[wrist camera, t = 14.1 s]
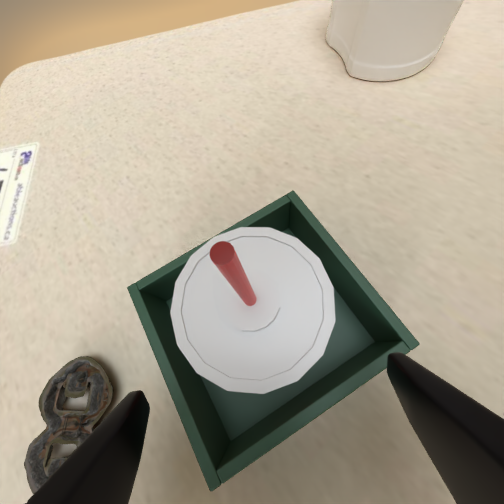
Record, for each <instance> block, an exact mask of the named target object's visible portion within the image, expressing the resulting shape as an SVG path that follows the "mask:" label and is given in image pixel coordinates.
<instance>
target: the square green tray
mask: <svg viewBox="0 0 504 504" xmlns="http://www.w3.org/2000/svg"><path fill="white" fill-rule="evenodd" d="M240 227H270V228H273V229H275V230H278V231H280V232H283V233H285V234H288V235H291V236H293V237H296V238H298V239H299V240H300V241H301V242H302V243H303V244H304V245H305V246H306V247H308V248H309V249H310V250H311V251H312V252H313V253H314V254H315V255H316V256H317V257H318V258H320V260H321V262H322V264H323V267H324V269H325V271H326V273H327V275H328V277H329V279H330V281H331V283H332V285H333V287H334V303H335V324H334V327H333V330H332V332H331V335H330V338H329V341H328V343H327V346H326V349H325V351H324V354H323V356H322V357H321V358H320V359H319V360H318V361H317V362H316V363H315V364H314V365H313V366H312V367H311V368H310V369H309V370H308V371H307V372H306V373H305V374H304V375H303V376H302V377H301V378H300V379H299V380H298V381H296V382H294V383H291V384H288V385H286V386H283V387H281V388H278V389H275V390H273V391H270V392H267V393H265V394H258V393H246V392H234V391H227V390H225V389H223V388H221V387H220V386H218V385H216V384H215V383H213V382H211V381H209V380H208V379H206V378H204V377H203V376H201V375H199V374H197V373H196V371H195V370H194V368H193V367H192V366H191V364H190V363H189V361H188V360H187V359H186V357H185V356H184V354H183V353H182V351H181V350H180V349H179V347H178V346H177V342H176V338H175V333H174V328H173V324H172V319H171V314H170V312H171V306H172V300H173V294H174V288H175V282H176V280H177V279H178V277H179V275H180V273H181V272H182V270H183V268H184V267H185V265H186V263H187V261H188V260H189V258H190V256H191V255H192V254H194V253H195V252H196V251H197V250H198V249H200V248H201V247H202V246H203V245H204V244H206V243H207V242H208V241H209V240H210V239H209V240H207V241H206V242H204V243H202V244H201V245H199V246H197V247H195V248H194V249H192V250H190V251H189V252H187V253H185V254H183V255H182V256H180V257H178V258H177V259H175V260H173V261H172V262H170V263H168V264H166V265H165V266H163V267H161V268H160V269H158V270H156V271H154V272H153V273H151V274H149V275H148V276H146V277H144V278H142V279H141V280H139V281H137V282H136V283H134V284H132V285H130V286H129V287H127V289H128V291H129V293H130V296H131V298H132V301H133V303H134V306H135V308H136V311H137V313H138V315H139V318H140V320H141V323H142V325H143V328H144V330H145V333H146V335H147V338H148V340H149V342H150V345H151V347H152V350H153V352H154V355H155V357H156V360H157V362H158V365H159V367H160V369H161V372H162V374H163V377H164V379H165V382H166V384H167V387H168V389H169V392H170V394H171V396H172V399H173V401H174V404H175V406H176V409H177V411H178V414H179V416H180V418H181V421H182V423H183V426H184V428H185V431H186V433H187V436H188V438H189V441H190V443H191V445H192V448H193V450H194V453H195V455H196V458H197V460H198V463H199V465H200V468H201V470H202V472H203V475H204V477H205V480H206V482H207V485H208V487H209V490H210V491H213V490H215V489H216V488H217V487H219V486H220V485H221V484H222V483H224V482H226V481H227V480H229V479H230V478H231V477H233V476H234V475H236V474H237V473H239V472H240V471H241V470H243V469H244V468H246V467H247V466H248V465H250V464H251V463H253V462H254V461H256V460H257V459H258V458H260V457H261V456H263V455H264V454H265V453H267V452H268V451H270V450H271V449H272V448H274V447H275V446H277V445H278V444H280V443H281V442H282V441H284V440H285V439H287V438H288V437H289V436H291V435H292V434H294V433H295V432H297V431H298V430H299V429H301V428H302V427H304V426H305V425H306V424H308V423H309V422H311V421H312V420H314V419H315V418H316V417H318V416H319V415H321V414H322V413H323V412H325V411H326V410H328V409H329V408H331V407H332V406H333V405H335V404H336V403H338V402H339V401H340V400H342V399H343V398H345V397H346V396H348V395H349V394H350V393H352V392H353V391H355V390H356V389H357V388H359V387H360V386H362V385H363V384H365V383H366V382H367V381H369V380H370V379H372V378H373V377H374V376H376V375H377V374H379V373H380V372H381V371H383V370H384V369H386V368H387V360H388V354H390V353H395V352H401V353H403V354H405V355H406V354H407V353H408V352H410V350H413V349H414V348H416V347H417V346H418V345H419V342H418V341H417V340H416V339H415V337H414V336H413V335H412V334H411V333H410V331H409V330H408V329H407V328H406V326H405V325H404V324H403V323H402V322H401V320H400V319H399V318H398V317H397V316H396V314H395V313H394V312H393V311H392V309H391V308H390V307H389V306H388V305H387V303H386V302H385V301H384V300H383V299H382V297H381V296H380V295H379V294H378V292H377V291H376V290H375V289H374V288H373V286H372V285H371V284H370V283H369V282H368V280H367V279H366V278H365V277H364V276H363V274H362V273H361V272H360V271H359V269H358V268H357V267H356V266H355V265H354V263H353V262H352V261H351V260H350V259H349V257H348V256H347V255H346V254H345V252H344V251H343V250H342V249H341V248H340V246H339V245H338V244H337V243H336V242H335V240H334V239H333V238H332V237H331V235H330V234H329V233H328V232H327V231H326V229H325V228H324V227H323V226H322V225H321V223H320V222H319V221H318V220H317V218H316V217H315V216H314V215H313V214H312V212H311V211H310V210H309V209H308V208H307V206H306V205H305V204H304V203H303V201H302V200H301V199H300V198H299V197H298V195H297V194H296V193H295V192H294V191H291V192H290V193H288V194H287V195H285V196H283V197H281V198H279V199H278V200H276V201H274V202H273V203H271V204H269V205H267V206H266V207H264V208H262V209H261V210H259V211H257V212H255V213H254V214H252V215H250V216H249V217H247V218H245V219H243V220H242V221H240V222H238V223H237V224H235V225H233V226H231V227H230V228H228V229H226V230H225V231H223V232H221V233H219V234H218V235H220V234H223V233H226V232H229V231H231V230H234V229H237V228H240ZM218 235H216V236H218ZM214 237H215V236H214ZM211 239H212V238H211Z"/></svg>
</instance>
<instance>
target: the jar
mask: <svg viewBox="0 0 504 504" xmlns="http://www.w3.org/2000/svg"><path fill="white" fill-rule="evenodd" d="M463 1H464V0H332V6H331V13H330V19H329V24H328V27H327V33H326V41H327V43H328V44H329V46H330V47H332V48H333V49H335V50H336V51H337V52H338V53H339V54H340V56H341V57H342V59H343V61H344V63H345V65H346V70H347V72H348V73H349V74H350V76H352V77H355V78H359V79H363V80H369V81H392V80H398V79H403V78H406V77H409V76H412V75H414V74H416V73H418V72H420V71H421V70H423V69H424V68H425V67H427V66H428V65H429V64H430V63H431V62H432V60H433V59H434V58H435V56H436V54H437V52H438V50H439V49H440V47H441V45H442V43H443V40H444V37H445V35H446V33H447V31H448V29H449V28H450V26H451V24H452V22H453V20H454V18H455V16H456V14H457V13H458V11H459V9H460V7H461V5H462V3H463Z"/></svg>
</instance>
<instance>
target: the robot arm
mask: <svg viewBox="0 0 504 504" xmlns="http://www.w3.org/2000/svg"><path fill="white" fill-rule="evenodd" d="M387 373H388V377H389V379H390V381H391V383H392V385H393V387H394V390H395V392H396V394H397V396H398V398H399V400H400V403H401V405H402V407H403V409H404V411H405V413H406V416H407V418H408V420H409V422H410V424H411V425H412V427H413V429H414V431H415V433H416V434H417V436H418V438H419V439H420V441H421V443H422V445H423V446H424V448H425V450H426V451H427V453H428V455H429V457H430V458H431V460H432V462H433V464H434V465H435V467H436V469H437V470H438V472H439V474H440V476H441V477H442V479H443V481H444V482H445V484H446V486H447V488H448V489H449V491H450V493H451V494H452V496H453V498H454V500H455V501H456V503H457V504H504V419H503V418H501V417H500V416H498V415H497V414H495V413H493V412H492V411H490V410H489V409H487V408H486V407H484V406H483V405H481V404H480V403H478V402H477V401H475V400H474V399H472V398H471V397H469V396H467V395H466V394H464V393H463V392H461V391H460V390H458V389H457V388H455V387H454V386H452V385H451V384H449V383H448V382H446V381H444V380H443V379H441V378H440V377H438V376H437V375H435V374H434V373H432V372H431V371H429V370H428V369H426V368H425V367H423V366H421V365H420V364H418V363H417V362H415V361H414V360H412V359H411V358H409V357H408V356H406V355H405V354H403V353H401V352H395V353H390V354H388V360H387ZM149 412H150V407H149V403H148V401H147V399H146V397H145V395H144V393H143V392H142V391H140V390H139V391H133V392H130V393H129V394H127V396H126V397H125V398H124V399H123V400H122V401H121V402H120V403H119V404H118V405H117V406H116V407H115V408H114V409H113V410H112V412H111V413H110V414H109V415H108V416H107V417H106V418H105V419H104V420H103V421H102V422H101V423H100V424H99V425H98V426H97V427H96V429H95V430H94V431H93V432H92V433H91V434H90V435H89V436H88V437H87V438H86V439H85V440H84V441H83V442H82V443H81V445H80V446H79V447H78V448H77V449H76V450H75V451H74V452H73V453H72V454H71V455H70V456H69V457H68V458H67V459H66V461H65V462H64V463H63V464H62V465H61V466H60V467H59V468H58V469H57V470H56V471H55V472H54V473H53V474H52V475H51V476H50V478H49V479H48V480H47V481H46V482H45V483H44V484H43V485H42V486H41V487H40V488H39V489H38V490H37V491H36V492H35V494H34V495H33V496H32V497H31V498H30V499H29V500H28V502H27V503H25V504H128V503H129V499H130V495H131V492H132V488H133V485H134V481H135V478H136V474H137V470H138V467H139V463H140V459H141V454H142V449H143V444H144V439H145V433H146V428H147V423H148V417H149Z"/></svg>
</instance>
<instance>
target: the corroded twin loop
mask: <svg viewBox="0 0 504 504" xmlns="http://www.w3.org/2000/svg"><path fill="white" fill-rule="evenodd" d="M65 382H67V384H66V388H64V387H63V385H64V383H65ZM90 383H91V387H90V392H89V397H88V402H87V407H86V410H85V411H71V410H66V411H63V408H62V406H63V403H64V402H65V398H66V397H71V398H78V397H81V396H84V394H85V391H86V389H87V388H89V386H90ZM112 395H113V387H112V385H111V384H110V380H109V378H108V377H107V374H106V373H105V371H104V369H103V368H102V366H101V365H100V364H99V363H97V362H96V361H95V360H94V359H92V358H91V357H78V358H76V359H74V360H72V361H70V362H69V363H67V364H66V365H65V366H64V367H63V368H61V369H60V370H59V371H58V372H57V373H56V374H55V375H54V376H53V377H52V378H51V379H50V380H49V381H48V383H47V385H46V386H45V388H44V390H43V392H42V394H41V396H40V398H39V408H40V412H41V416H42V417H43V420H44V421H45V422H46V424H47V427H46V429H45V430H44V431H43V432H42V433H41V434H40V435H39V436H38V437H37V438H35V439H34V440H33V442H32V443H31V444H30V445H29V448H28V451H27V455H26V459H25V462H24V466H25V469H26V473H27V480H28V483H29V486H30V489H31V490H32V493H33V494H35V492H36V491H37V490H38V489H39V488H40V487H41V486H42V485H43V484H44V483H45V482H46V481H47V480H48V479H49V478H50V476H51V475H52V474H53V473H54V472H55V471H56V470H57V469H58V468H59V467H60V466H61V465H62V464H63V463H64V462H65V461H66V459H67V458H68V457H64V458H53V459H50V456H51V452H52V449H53V448H52V447H53V446H52V444H53V443H60V444H76V445H77V448H78V447H79V446H80V445H81V443H82V442H83V441H84V440H85V439H86V438H87V437H88V436H89V435H90V434H91V433H92V432H93V431H94V429H93V428H92V427H93V426H94V424H95V423H96V422H97V421H98V420H99V419H100V417H101V416H102V415H103V413H104V412H105V410H106V409H107V407H108V405H110V403H111V400H112Z"/></svg>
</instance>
